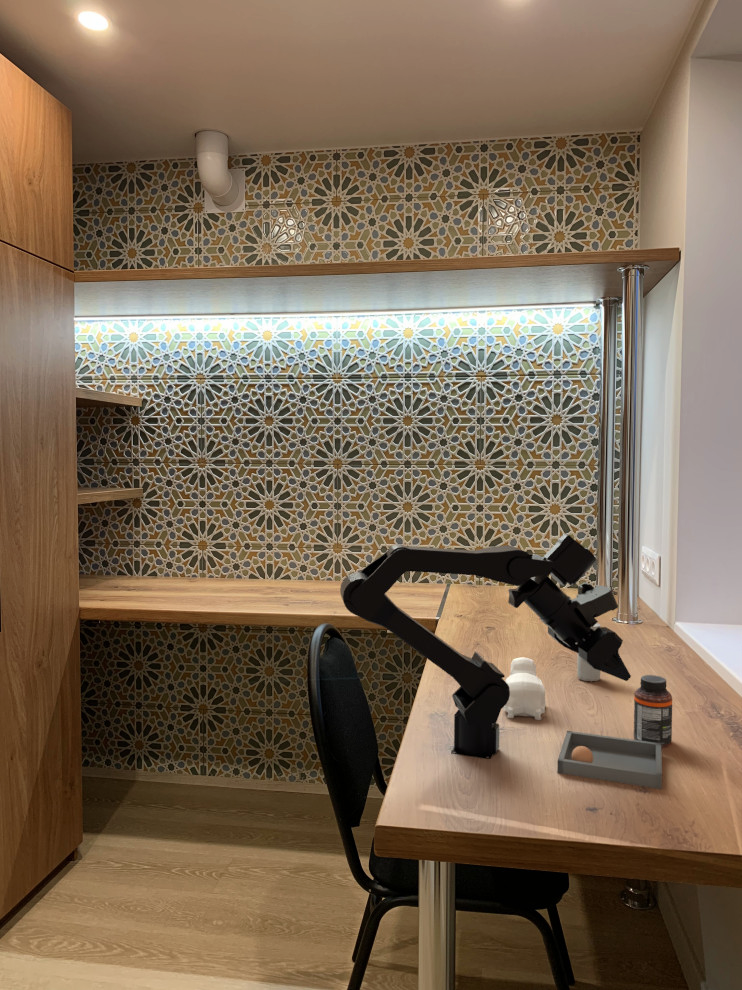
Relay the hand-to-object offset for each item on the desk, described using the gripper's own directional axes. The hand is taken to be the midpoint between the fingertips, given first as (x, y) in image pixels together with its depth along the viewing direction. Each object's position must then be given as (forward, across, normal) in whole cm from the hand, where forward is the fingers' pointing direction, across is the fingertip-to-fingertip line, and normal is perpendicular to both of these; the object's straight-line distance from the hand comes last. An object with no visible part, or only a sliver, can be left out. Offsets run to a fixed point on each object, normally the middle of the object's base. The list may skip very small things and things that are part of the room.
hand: (616, 670), depth 121 cm
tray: (+6, -8, +12) cm, 16 cm away
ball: (+2, -9, +15) cm, 18 cm away
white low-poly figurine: (+2, +18, +16) cm, 25 cm away
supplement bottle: (+14, 0, +5) cm, 15 cm away
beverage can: (+16, +35, +2) cm, 39 cm away
